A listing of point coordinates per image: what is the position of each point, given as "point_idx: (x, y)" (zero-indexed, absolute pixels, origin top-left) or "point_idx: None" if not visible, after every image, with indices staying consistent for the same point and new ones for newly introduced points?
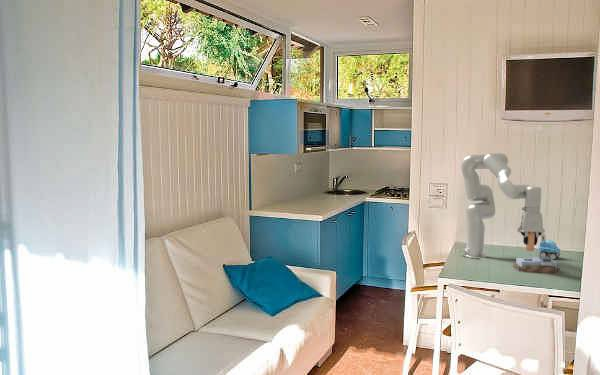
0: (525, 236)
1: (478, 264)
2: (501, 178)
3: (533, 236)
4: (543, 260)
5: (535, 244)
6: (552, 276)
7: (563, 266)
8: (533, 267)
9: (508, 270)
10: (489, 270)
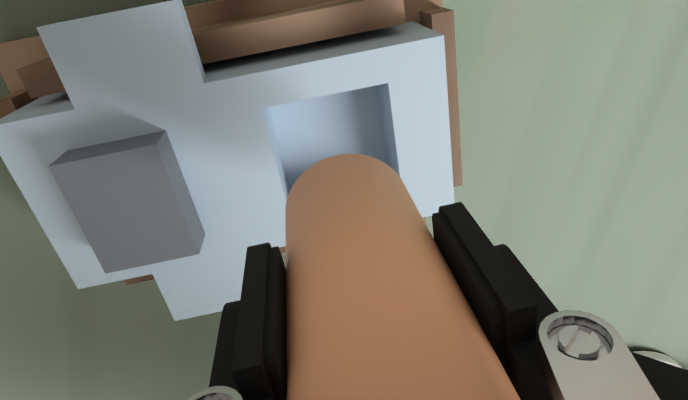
0: (577, 331)
1: (676, 216)
2: None
3: (342, 366)
4: (159, 135)
5: (266, 245)
6: (93, 7)
7: (23, 378)
8: (292, 13)
9: (492, 105)
10: (669, 45)
